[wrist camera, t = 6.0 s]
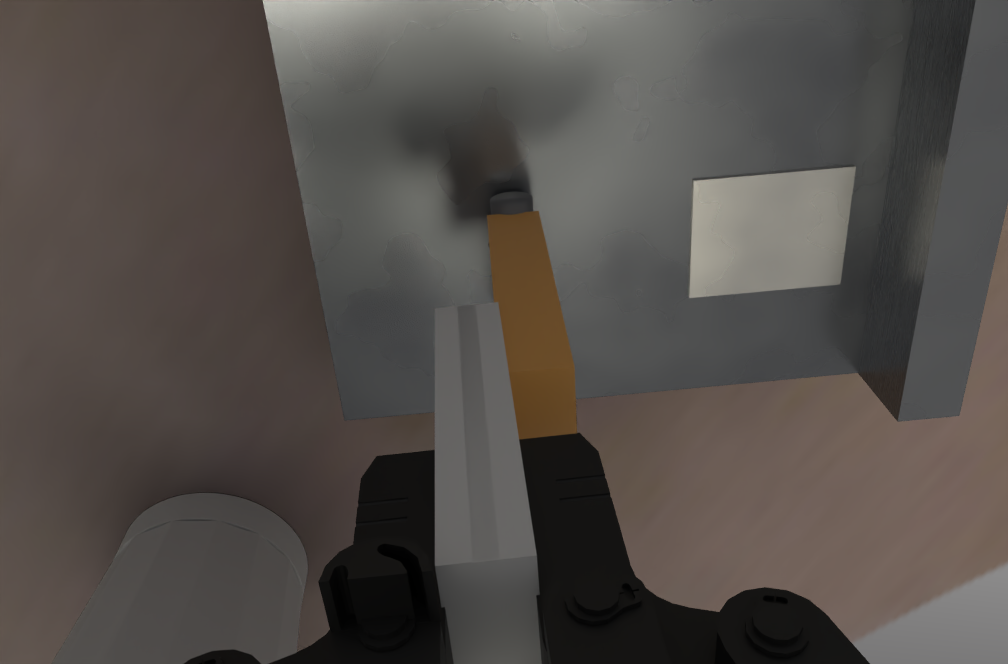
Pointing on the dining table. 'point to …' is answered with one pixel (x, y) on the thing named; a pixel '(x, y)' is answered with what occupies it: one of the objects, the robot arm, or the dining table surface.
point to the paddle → (531, 319)
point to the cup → (195, 587)
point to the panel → (657, 183)
